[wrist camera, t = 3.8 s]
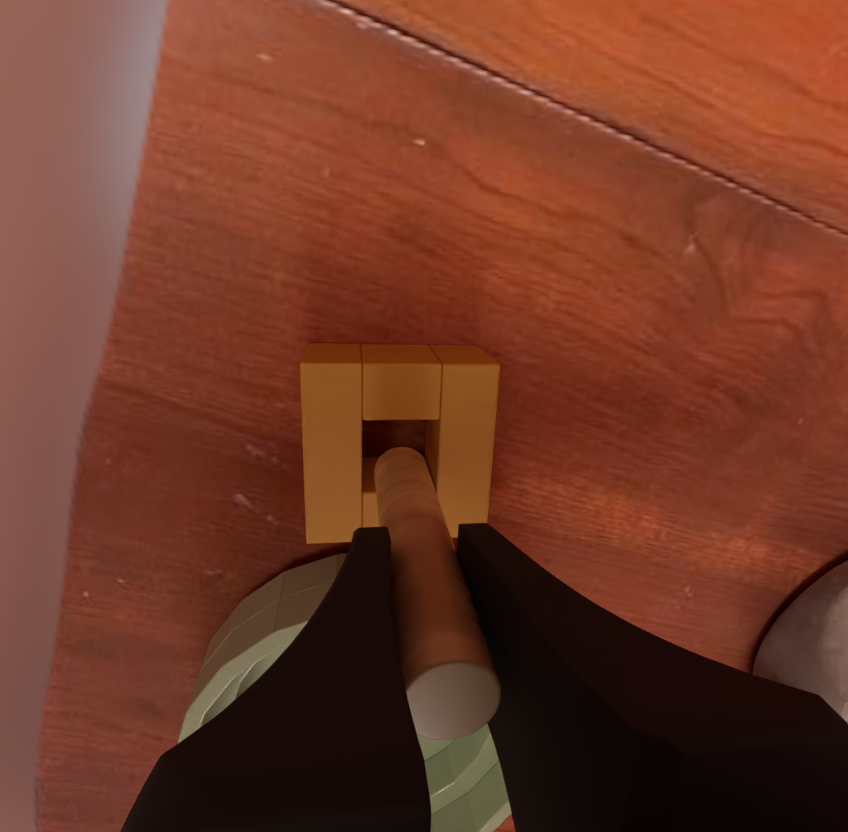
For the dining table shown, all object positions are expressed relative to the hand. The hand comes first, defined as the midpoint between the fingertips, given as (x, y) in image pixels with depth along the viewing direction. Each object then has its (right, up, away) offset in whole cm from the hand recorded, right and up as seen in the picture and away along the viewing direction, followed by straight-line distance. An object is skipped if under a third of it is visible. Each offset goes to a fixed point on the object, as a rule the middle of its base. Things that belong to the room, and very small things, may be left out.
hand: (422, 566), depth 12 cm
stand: (-1, +3, +8) cm, 9 cm away
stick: (-1, +2, +5) cm, 5 cm away
